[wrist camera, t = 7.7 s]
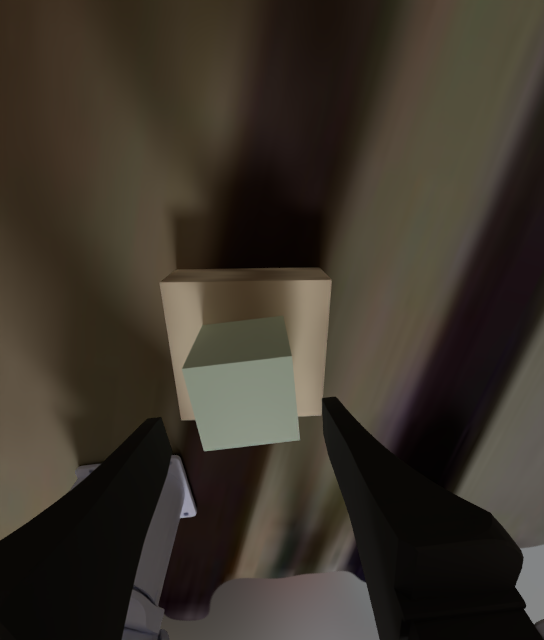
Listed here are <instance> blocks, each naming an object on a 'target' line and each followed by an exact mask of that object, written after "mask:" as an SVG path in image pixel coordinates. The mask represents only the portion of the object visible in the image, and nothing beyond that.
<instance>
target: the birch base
mask: <svg viewBox="0 0 544 640" xmlns="http://www.w3.org/2000/svg"><path fill="white" fill-rule="evenodd" d="M331 283H332V280H331V279H330V278H329V277H328V276H327V275H326V274H325V273H324V272H323V270H322V269H321V268H244V269H176V270H175V271H174V272H172V273H171V274H170V275H169V276H167V277H166V278H165V279H163V280H162V281H161V282H160V288H161V295H162V301H163V307H164V314H165V320H166V327H167V333H168V339H169V346H170V352H171V358H172V365H173V371H174V377H175V384H176V390H177V396H178V403H179V409H180V415H181V420H195V416H194V412H193V409H192V405H191V401H190V398H189V394H188V390H187V387H186V383H185V379H184V376H183V372H182V367H183V365H184V363H185V361H186V359H187V357H188V355H189V352H190V350H191V348H192V346H193V344H194V342H195V340H196V338H197V335H198V333H199V331H200V329H201V327H202V325H208V324H216V323H225V322H233V321H242V320H250V319H259V318H267V317H276V316H283V317H284V322H285V326H286V331H287V335H288V340H289V345H290V349H291V354H292V362H293V372H294V383H295V393H296V404H297V414H298V416H321V414H322V398H323V387H324V374H325V361H326V348H327V335H328V322H329V309H330V296H331Z"/></svg>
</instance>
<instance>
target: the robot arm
mask: <svg viewBox="0 0 544 640" xmlns="http://www.w3.org/2000/svg"><path fill="white" fill-rule="evenodd" d="M322 415H323V434H324V438H325V443H326V447H327V451H328V455H329V458H330V461H331V464H332V467H333V470H334V473H335V476H336V478H337V481H338V484H339V487H340V490H341V493H342V495H343V498H344V501H345V504H346V507H347V510H348V513H349V517H350V520H351V524H352V528H353V531H354V535H355V539H356V543H357V547H358V551H359V555H360V559H361V563H362V567H363V571H364V575H365V579H366V583H367V588H368V591H369V595H370V600H371V604H372V608H373V612H374V616H375V621H376V625H377V630H378V634H379V639H380V640H544V619H543V620H540V621H538V622H536V623H535V624H533V623H532V621H531V620H530V618H529V616H528V615H527V613H526V612H525V610H524V609H525V608H526V604H525V601H524V600H523V598H522V597H521V595H520V594H519V592H518V591H517V589H516V588H515V585H516V582H517V580H518V577H519V574H520V572H521V569H522V564H523V554H522V552H521V550H520V548H519V547H518V546H517V544H516V543H515V542H514V540H513V539H512V538H511V536H510V535H509V534H508V533H507V531H506V530H505V529H504V528H503V526H502V525H501V524H500V523H499V522H498V521H497V520H496V519H495V518H494V516H493V515H492V514H491V513H490V512H488V511H486V510H484V509H482V508H480V507H478V506H476V505H474V504H472V503H470V502H468V501H466V500H464V499H462V498H460V497H458V496H457V495H455V494H453V493H451V492H450V491H448V490H446V489H444V488H443V487H441V486H439V485H437V484H436V483H434V482H433V481H431V480H429V479H428V478H426V477H425V476H423V475H422V474H420V473H419V472H417V471H416V470H414V469H413V468H411V467H410V466H408V465H407V464H406V463H404V462H403V461H402V460H400V459H399V458H398V457H396V456H395V455H394V454H393V453H391V452H390V451H389V450H388V449H387V448H385V447H384V446H383V445H382V444H381V443H380V442H379V441H377V440H376V439H375V438H374V437H373V436H372V435H371V434H370V433H369V432H368V431H367V430H366V429H365V428H364V427H363V426H362V425H361V424H360V423H359V422H358V421H357V420H356V419H355V418H354V417H353V416H352V415H351V414H350V413H349V411H348V410H347V409H346V408H345V407H344V406H343V404H342V403H341V402H340V401H339V400H338V398H336V397H328V398H322ZM75 474H76V476H77V477H78V479H77V480H76V482H75V483H74V485H73V486H72V488H71V490H70V491H69V492H68V493H67V494H66V495H64V496H63V497H62V498H60V499H59V500H58V501H57V502H55V503H54V504H53V505H51V506H50V507H48V508H47V509H46V510H44V511H43V512H41V513H40V514H39V515H37V516H36V517H35V518H33V519H32V520H30V521H29V522H28V523H26V524H25V525H23V526H22V527H20V528H19V529H17V530H16V531H14V532H13V533H11V534H10V535H8V536H7V537H5V538H4V539H2V540H0V640H169V635H168V633H167V631H165V630H162V629H160V627H161V623H162V619H163V614H164V609H163V608H160V607H158V603H159V599H160V595H161V591H162V587H163V583H164V579H165V575H166V571H167V567H168V563H169V559H170V555H171V551H172V547H173V543H174V539H175V535H176V531H177V527H178V523H179V519H180V518H184V517H192V516H195V515H196V513H197V508H196V505H195V502H194V499H193V496H192V493H191V489H190V486H189V483H188V480H187V477H186V473H185V470H184V467H183V464H182V461H181V458H180V457H179V456H178V455H172V449H171V446H170V443H169V440H168V437H167V434H166V430H165V427H164V424H163V421H162V418H161V417H158V418H149V419H147V420H146V421H145V422H144V423H142V424H141V425H140V426H139V427H138V428H137V429H136V430H135V431H134V432H133V433H132V434H131V435H130V436H129V437H128V438H127V439H126V440H125V441H124V442H123V443H122V444H121V445H120V446H119V447H118V448H117V449H116V450H115V451H114V452H113V453H112V454H111V455H110V456H109V457H108V458H107V459H106V460H105V461H104V462H103V463H101V464H93V465H84V466H79V467H78V468H77V469H76V471H75Z"/></svg>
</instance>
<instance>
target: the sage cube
mask: <svg viewBox="0 0 544 640" xmlns="http://www.w3.org/2000/svg"><path fill="white" fill-rule="evenodd" d="M182 372H183V376H184V379H185V383H186V387H187V390H188V394H189V398H190V401H191V405H192V409H193V412H194V416H195V420H196V424H197V427H198V431H199V435H200V438H201V442H202V446H203V449H204V451H211V450H220V449H228V448H237V447H245V446H254V445H262V444H271V443H279V442H288V441H297V440H300V435H299V425H298V414H297V404H296V393H295V383H294V372H293V362H292V354H291V349H290V345H289V340H288V335H287V331H286V326H285V322H284V317H283V316H276V317H267V318H259V319H250V320H242V321H233V322H225V323H216V324H208V325H202V327H201V329H200V331H199V333H198V335H197V338H196V340H195V342H194V344H193V346H192V348H191V350H190V352H189V355H188V357H187V359H186V361H185V363H184V365H183V367H182Z"/></svg>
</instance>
